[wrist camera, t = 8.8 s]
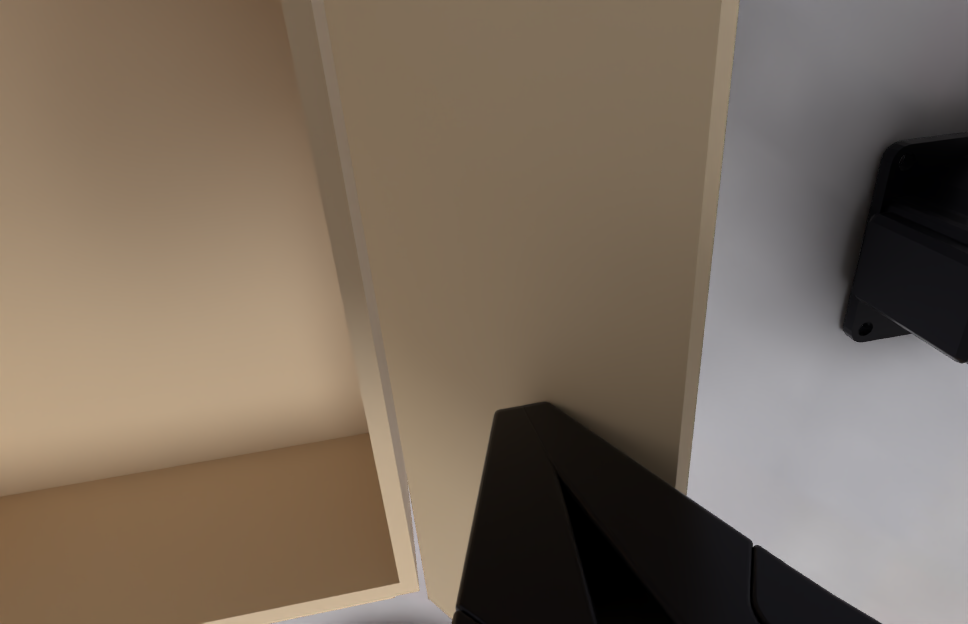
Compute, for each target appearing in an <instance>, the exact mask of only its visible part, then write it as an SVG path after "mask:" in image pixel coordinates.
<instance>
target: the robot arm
mask: <svg viewBox="0 0 968 624" xmlns="http://www.w3.org/2000/svg"><path fill="white" fill-rule="evenodd" d="M904 155H905V158H904V160H903V162H902V163H901V164H900V165H899V162H900V160H901V158H902V157H903V156H904ZM862 325H863V326H862ZM860 326H861V327H860ZM843 331H844V333H845V334H846V335H847V336H849V337H850V338H851V339H853V340H854V341H856V342H866V341H872V340H878V339H884V338H890V337H895V336H901V335H907V334H914V335H915V336H917V337H918V338H920V339H921V340H923V341H925V342H926V343H928V344H929V345H931V346H932V347H934V348H935V349H937V350H939V351H940V352H942V353H943V354H945V355H946V356H948V357H950V358H951V359H953V360H954V361H956V362H959V363H967V364H968V132H965V133H957V134H950V135H942V136H934V137H927V138H919V139H911V140H904V141H899V142H896V143H894V144H892V145H891V146H890V147H888V149H887V150H886V151H885V153H884V154H883V157H882V159H881V163H880V167H879V172H878V176H877V180H876V185H875V189H874V194H873V198H872V202H871V207H870V211H869V215H868V220H867V224H866V229H865V233H864V237H863V242H862V246H861V251H860V255H859V259H858V264H857V268H856V272H855V277H854V281H853V286H852V290H851V294H850V299H849V303H848V307H847V312H846V316H845V321H844V325H843ZM455 609H456V612H455V613H454V614H453V619H452V624H882V623H880V622H878V621H877V620H875V619H873V618H872V617H870V616H868V615H867V614H865V613H863V612H862V611H860V610H858V609H857V608H855V607H853V606H852V605H850V604H848V603H847V602H845V601H843V600H841V599H840V598H838V597H836V596H835V595H833V594H832V593H830V592H829V591H827V590H826V589H824V588H822V587H821V586H819V585H818V584H816V583H815V582H813V581H812V580H810V579H809V578H807V577H806V576H804V575H802V574H801V573H799V572H798V571H796V570H795V569H793V568H792V567H790V566H789V565H787V564H786V563H784V562H783V561H781V560H780V559H778V558H777V557H775V556H774V555H772V554H771V553H770V552H768V551H767V550H765V549H764V548H762V547H761V546H759V545H755V546H754V547H753V543H752V541H751V540H750V539H749V538H747V537H746V536H744V535H743V534H741V533H740V532H738V531H737V530H735V529H734V528H733V527H731V526H730V525H728V524H727V523H725V522H724V521H722V520H721V519H719V518H718V517H716V516H715V515H713V514H712V513H711V512H709V511H708V510H706V509H705V508H703V507H702V506H700V505H699V504H697V503H696V502H694V501H693V500H692V499H690V498H689V497H687V496H686V495H684V494H683V493H681V492H680V491H678V490H677V489H675V488H674V487H672V486H671V485H670V484H668V483H667V482H665V481H664V480H662V479H661V478H659V477H658V476H656V475H655V474H653V473H652V472H651V471H649V470H648V469H646V468H645V467H643V466H642V465H640V464H639V463H637V462H636V461H634V460H633V459H632V458H630V457H629V456H627V455H626V454H624V453H623V452H621V451H620V450H618V449H617V448H615V447H614V446H612V445H611V444H610V443H608V442H607V441H605V440H604V439H602V438H601V437H599V436H598V435H596V434H595V433H593V432H592V431H591V430H589V429H588V428H586V427H585V426H583V425H582V424H580V423H579V422H577V421H576V420H574V419H573V418H571V417H570V416H569V415H567V414H566V413H564V412H563V411H561V410H560V409H558V408H557V407H555V406H554V405H552V404H551V403H549V402H546V401H543V402H537V403H532V404H526V405H521V406H515V407H509V408H504V409H499V410H497V411H495V413H494V416H493V421H492V426H491V431H490V436H489V441H488V446H487V451H486V456H485V461H484V466H483V471H482V476H481V481H480V486H479V491H478V496H477V501H476V506H475V511H474V516H473V521H472V526H471V531H470V536H469V541H468V546H467V551H466V556H465V561H464V566H463V571H462V576H461V581H460V586H459V591H458V596H457V601H456V607H455Z"/></svg>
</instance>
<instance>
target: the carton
mask: <svg viewBox="0 0 968 624" xmlns="http://www.w3.org/2000/svg"><path fill="white" fill-rule="evenodd" d="M417 591H419V582H418V573H417V563H416V554H415V545H414V536H413V527H412V518H411V509H410V500H409V491H408V482H407V474H406V469H405V463H404V457H403V452H402V446H401V440H400V434H399V429H398V423H397V417H396V412H395V406H394V400H393V395H392V389H391V383H390V377H389V372H388V366H387V360H386V355H385V349H384V343H383V338H382V332H381V326H380V320H379V315H378V309H377V303H376V298H375V292H374V286H373V281H372V275H371V269H370V263H369V258H368V252H367V246H366V241H365V235H364V229H363V224H362V218H361V212H360V206H359V201H358V195H357V189H356V184H355V178H354V172H353V167H352V161H351V155H350V149H349V144H348V138H347V132H346V127H345V121H344V115H343V110H342V104H341V98H340V92H339V87H338V81H337V75H336V70H335V64H334V58H333V53H332V47H331V41H330V35H329V30H328V24H327V18H326V13H325V7H324V1H323V0H0V624H270V623H275V622H280V621H284V620H289V619H294V618H299V617H304V616H309V615H313V614H318V613H323V612H328V611H333V610H338V609H342V608H347V607H352V606H357V605H362V604H367V603H371V602H376V601H381V600H386V599H391V598H395V596H398V595H403V594H408V593H413V592H417Z"/></svg>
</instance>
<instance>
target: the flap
mask: <svg viewBox="0 0 968 624" xmlns="http://www.w3.org/2000/svg"><path fill="white" fill-rule="evenodd" d="M323 1H324V7H325V13H326V18H327V24H328V30H329V35H330V41H331V47H332V53H333V58H334V64H335V70H336V75H337V81H338V87H339V92H340V98H341V104H342V110H343V115H344V121H345V127H346V132H347V138H348V144H349V149H350V155H351V161H352V167H353V172H354V178H355V184H356V189H357V195H358V201H359V206H360V212H361V218H362V224H363V229H364V235H365V241H366V246H367V252H368V258H369V263H370V269H371V275H372V281H373V286H374V292H375V298H376V303H377V309H378V315H379V320H380V326H381V332H382V338H383V343H384V349H385V355H386V360H387V366H388V372H389V377H390V383H391V389H392V395H393V400H394V406H395V412H396V417H397V423H398V429H399V434H400V440H401V446H402V452H403V457H404V463H405V469H406V474H407V480H408V486H409V491H410V497H411V503H412V509H413V514H414V520H415V526H416V531H417V537H418V543H419V548H420V554H421V560H422V566H423V571H424V577H425V583H426V588H427V594H428V598H429V599H430V600H431V601H432V602H433V603H434V604H435V605H436V606H437V607H439V608H440V609H441V610H442V611H443V612H444V613H445V614H446V615H448V616H449V617H450V618H451V619H453V614H454V613H455V612H456V609H455V607H456V601H457V596H458V591H459V586H460V581H461V576H462V571H463V566H464V561H465V556H466V551H467V546H468V541H469V536H470V531H471V526H472V521H473V516H474V511H475V506H476V501H477V496H478V491H479V486H480V481H481V476H482V471H483V466H484V461H485V456H486V451H487V446H488V441H489V436H490V431H491V426H492V421H493V416H494V413H495V411H497V410H499V409H504V408H509V407H515V406H521V405H526V404H532V403H537V402H543V401H546V402H549V403H551V404H552V405H554V406H555V407H557V408H558V409H560V410H561V411H563V412H564V413H566V414H567V415H569V416H570V417H571V418H573V419H574V420H576V421H577V422H579V423H580V424H582V425H583V426H585V427H586V428H588V429H589V430H591V431H592V432H593V433H595V434H596V435H598V436H599V437H601V438H602V439H604V440H605V441H607V442H608V443H610V444H611V445H612V446H614V447H615V448H617V449H618V450H620V451H621V452H623V453H624V454H626V455H627V456H629V457H630V458H632V459H633V460H634V461H636V462H637V463H639V464H640V465H642V466H643V467H645V468H646V469H648V470H649V471H651V472H652V473H653V474H655V475H656V476H658V477H659V478H661V479H662V480H664V481H665V482H667V483H668V484H670V485H671V486H672V487H674V488H675V489H677V490H678V491H680V492H681V493H683V494H684V495H687V486H688V477H689V467H690V458H691V449H692V439H693V430H694V421H695V411H696V402H697V393H698V383H699V374H700V365H701V355H702V346H703V337H704V327H705V318H706V309H707V299H708V290H709V281H710V271H711V262H712V253H713V244H714V234H715V225H716V216H717V206H718V197H719V188H720V178H721V169H722V160H723V150H724V141H725V132H726V122H727V113H728V104H729V94H730V85H731V76H732V66H733V57H734V48H735V38H736V29H737V20H738V10H739V1H740V0H323Z"/></svg>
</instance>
